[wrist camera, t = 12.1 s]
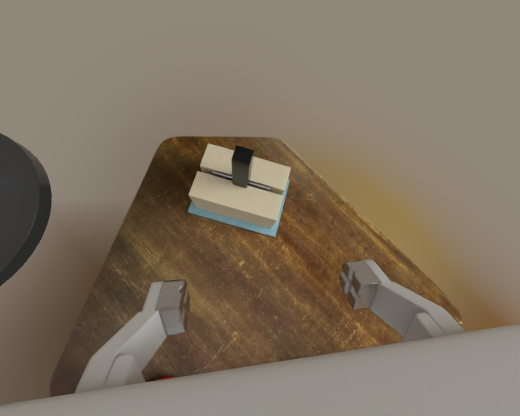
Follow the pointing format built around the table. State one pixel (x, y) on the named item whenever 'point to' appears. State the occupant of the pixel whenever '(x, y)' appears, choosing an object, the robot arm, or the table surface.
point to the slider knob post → (241, 169)
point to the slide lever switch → (239, 192)
